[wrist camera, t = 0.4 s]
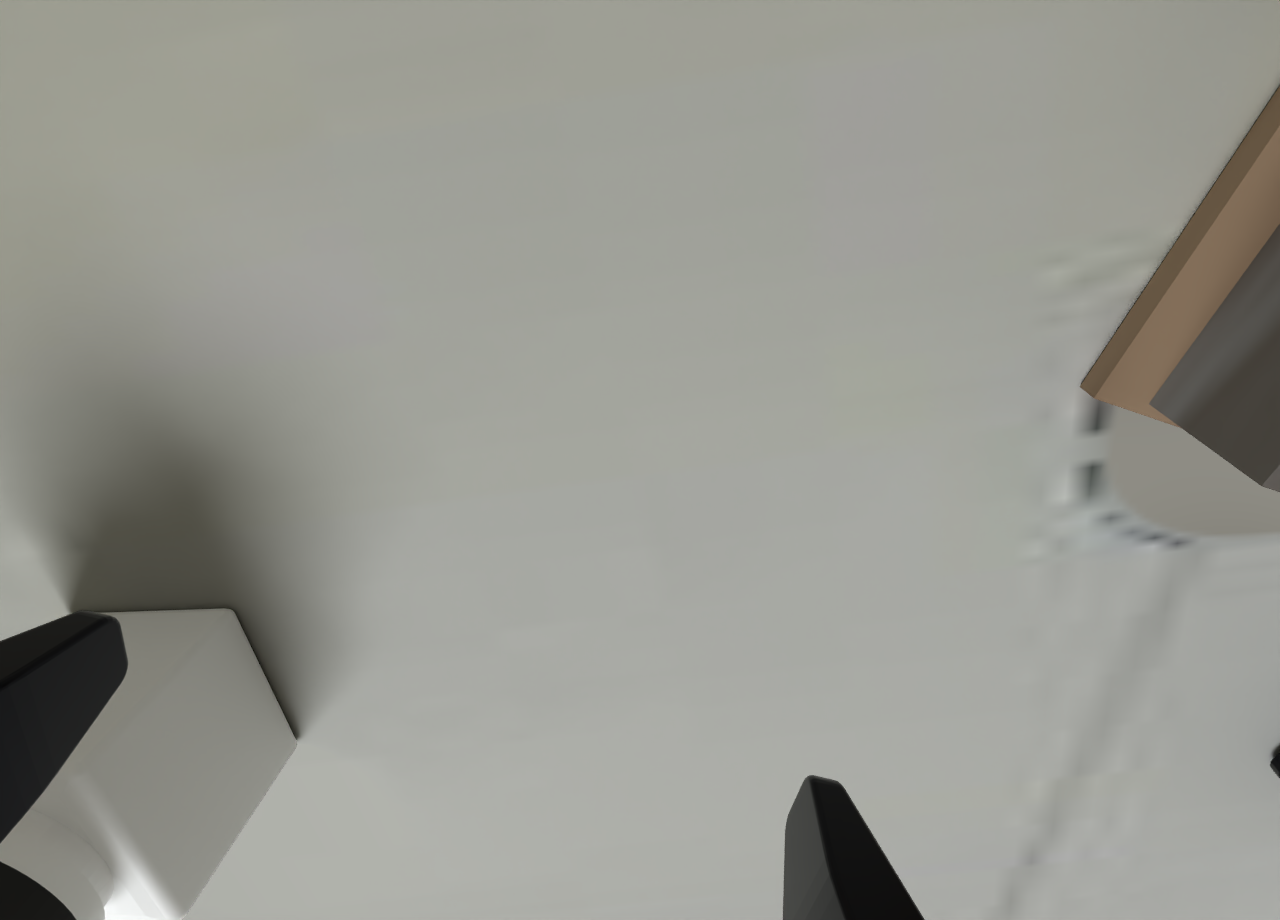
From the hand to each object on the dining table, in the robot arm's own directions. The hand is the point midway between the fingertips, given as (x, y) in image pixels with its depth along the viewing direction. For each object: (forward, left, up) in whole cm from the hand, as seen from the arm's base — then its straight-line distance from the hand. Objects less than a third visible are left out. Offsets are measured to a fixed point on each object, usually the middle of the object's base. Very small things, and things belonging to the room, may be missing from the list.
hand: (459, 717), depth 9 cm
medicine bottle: (+12, +17, -12) cm, 25 cm away
